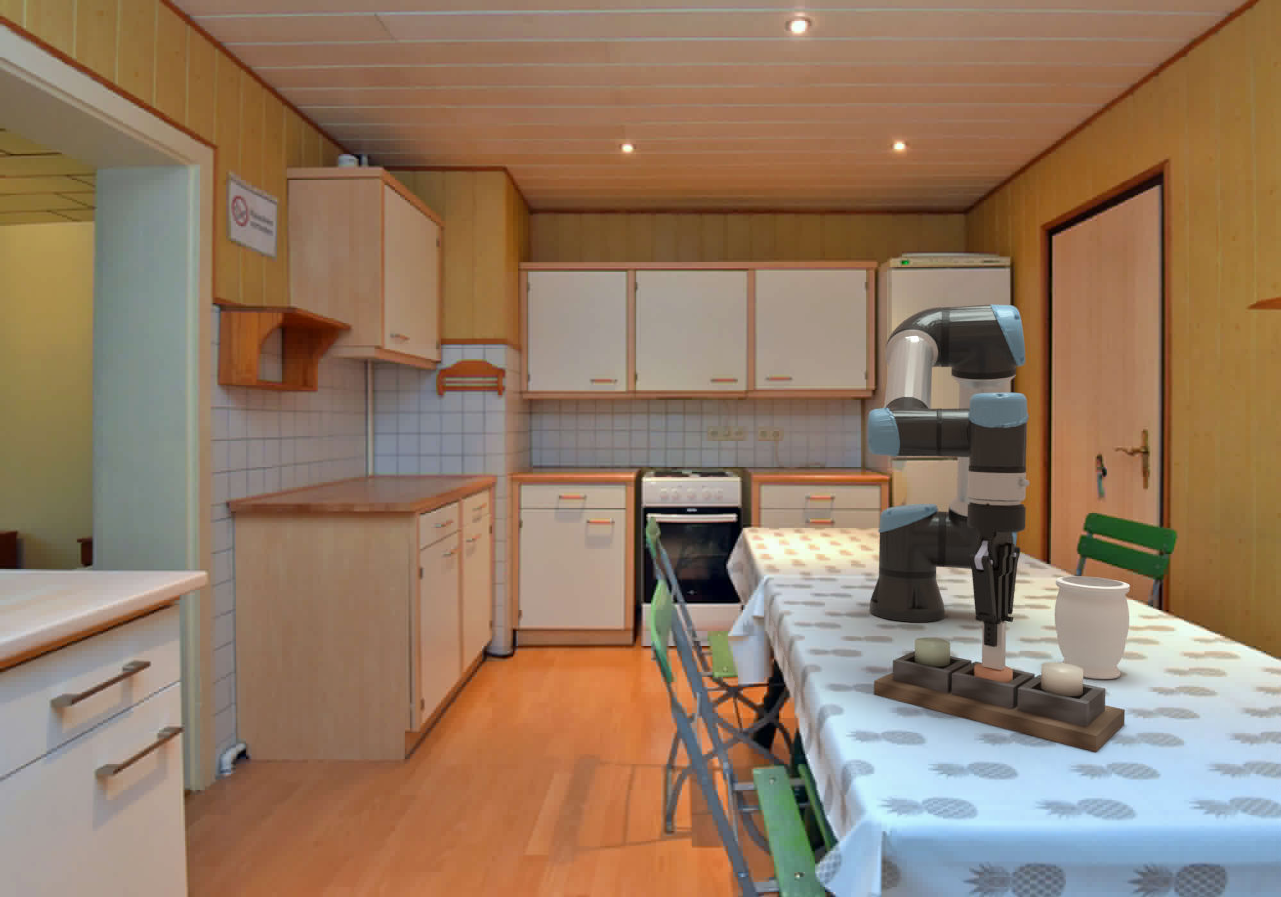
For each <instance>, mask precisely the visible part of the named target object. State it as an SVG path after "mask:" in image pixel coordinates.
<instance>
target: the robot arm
mask: <svg viewBox="0 0 1281 897" xmlns="http://www.w3.org/2000/svg"><path fill="white" fill-rule="evenodd" d="M1022 323H1023V322H1022V317H1021V313H1020V310H1019V308H1017V307H1016V306H1014V305H1011V304H1009V305H1008V304H978V305H962V306H947V307H941V306H938V307H937V306H936V307H930V308H927V309H924V310H922V311H917V313H914V314H912V315H911V316H909V317H908V318H906V319H904V320H903V321H902V322H901V323H899V324H898V326H897V327H896V328H894V330H893V331H892V332H891V334H890V335H889V337H888V339H887V341H886V344H885V350H884V356H885V357H884V358H885V361H886V364H887V366H888V372H887V378H886V387H885V395H884V396H885V397H884V402H883V403H884V404H883V407H881V408H874V409H872V410H870V411H869V412H868V417H867V419H868V420H867V445H868V446H867V447H868V452H870V454H872V455H875V456H889V457H892V458H894V457H944V458H945V457H946V458H948V457H949V458H950V457H951V458H953V457H954V458H957V466H956V467H957V472H956V474H957V476H956V497H955V498H953V499H952V500H951V501H949V503H948V511H941V510H940V511H939V508H938V506H937V505H936V504H935V503H919V504H918V503H917V504H916V503H915V504H907V505H906V504H905V505H904V504H903V505H898V506H892V507H888V508H886V509H883V510H882V511H881V513H880V516H879V528H878V530H877V532H878V533H879V543H878V544H879V545H878V546H879V551H878V552H879V553H878V578H877V580H876V582H875V586H874V589H873V592H872V594H871V597H870V601H869V612H870V613H871V614H872V615H874V616H876V617H878V618H882V619H887V620H893V621H899V622H911V623H913V622H915V623H923V622H924V623H926V622H928V623H929V622H935V621H936V622H937V621H940V620H943V619H944V618H945V612H946V611H945V610H946V609H945V604H944V600H943V597H942V594H941V590H940V588H939V584H938V581H937V568H953V569H954V568H955V569H967V570H971V578H972V589H973V602H974V611H975V616H974V617H975V619H974V620H975V621H977V622H982V632H981V636H982V639H981V640H982V641H981V647H982V648H981V663H982V666H983V667H988V668H993V669H997V670H1003V669H1004V668H1005V666H1006V653H1007V652H1006V651H1007V649H1006V646H1007V645H1006V643H1007V638H1006V637H1007V622H1009V623H1012V622H1013V621H1014V616H1009V615H1012V614H1013V611H1014V610H1013V609H1014V602H1015V601H1014V600H1015V591H1016V583H1017V581H1016V580H1017V574H1018V572H1017V571H1018V563H1019V559H1020V555H1021V548H1020V547H1019V546H1017V539H1018V535H1017V534H1018V533H1019V532H1022V531H1024V530H1025V529H1026V515H1027V514H1026V509H1027V508H1026V506H1025V504H1022V502H1023V501H1024V500H1026V492H1027V491H1026V490H1027V489H1026V488H1027V487H1029V486H1030V481H1029V480H1028V479H1026V478H1027V463H1026V462H1027V442H1028V441H1027V440H1028V439H1027V438H1028V434H1027V432H1028V420H1029V413H1028V400H1027V397H1026V396H1025V394H1023V393H1019V392H1007V390H1008V384H1009V382H1011V381H1012V380H1013V379H1014V378H1015V377H1016V376H1017V374H1016V373H1017V367H1018V368H1019V367H1022V366H1024V365H1025V364H1026V345H1025V344H1026V343H1025V336H1024V328H1023V324H1022ZM937 367H939V368H951V373H950V374H951V377H952V378H953V379H954V380H955V382H957V383H958V385H959V387H958V388H959V389H958V390H959V392H958V394H959V395H958V408H939V407H938V408H932V390H933V389H932V388H933V387H932V383H933V382H932V381H933V368H937Z"/></svg>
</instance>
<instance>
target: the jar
mask: <svg viewBox="0 0 1281 897" xmlns="http://www.w3.org/2000/svg"><path fill="white" fill-rule="evenodd" d="M1055 585H1056V586H1057V587H1058V592H1057V596H1056V600H1055V605H1054V624H1055V630H1056V634H1057V636H1056V637H1057V643H1058V648H1059V650H1060V653H1061V655H1062V657H1063V658H1064V659H1063V661H1061V663H1065V664H1070V665H1074V666H1077V667H1080V668H1081V669H1083V678H1085V679H1092V680H1093V679H1094V680H1113V679H1117V678H1119V677H1120V676H1121V671H1120V669H1119V667H1118V664H1120V662H1121V660H1122V658H1123V656H1124V653H1125V648H1126V641H1127V638H1128V636H1129V635H1128V634H1129V628H1130V611H1129V610H1130V609H1129V604H1128V599H1127V597H1126V594H1128V593H1129V592H1130V589H1131V588H1130V587H1131V586H1130V584H1129V583H1127V582H1124V581H1121V580H1115V579H1110V578H1104V577H1095V576H1084V575H1083V576H1080V575H1078V576H1076V575H1075V576H1073V575H1071V576H1070V575H1069V576H1061V577H1056V578H1055Z"/></svg>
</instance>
